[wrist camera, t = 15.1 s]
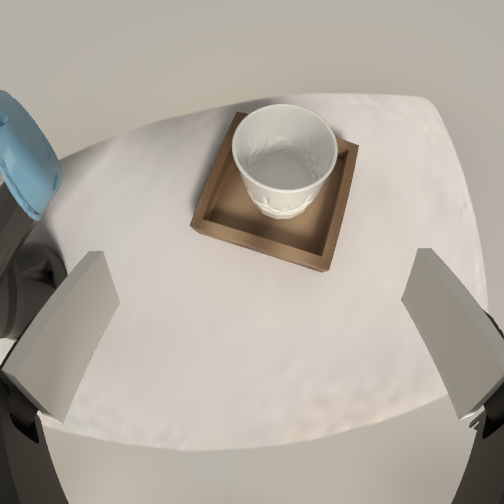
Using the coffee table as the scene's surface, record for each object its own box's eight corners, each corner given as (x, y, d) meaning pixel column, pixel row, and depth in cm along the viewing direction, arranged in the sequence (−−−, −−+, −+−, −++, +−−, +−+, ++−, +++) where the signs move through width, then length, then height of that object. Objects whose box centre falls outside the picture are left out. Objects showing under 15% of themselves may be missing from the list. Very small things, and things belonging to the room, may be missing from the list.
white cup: (313, 157, 29) (328, 103, 19) (321, 224, 28) (345, 191, 18) (243, 159, 29) (231, 106, 20) (245, 227, 28) (232, 195, 18)
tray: (198, 232, 30) (189, 225, 26) (240, 127, 31) (236, 111, 28) (322, 272, 28) (328, 270, 25) (350, 159, 30) (358, 145, 26)
